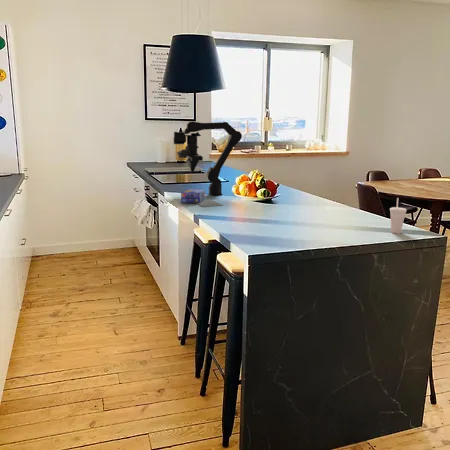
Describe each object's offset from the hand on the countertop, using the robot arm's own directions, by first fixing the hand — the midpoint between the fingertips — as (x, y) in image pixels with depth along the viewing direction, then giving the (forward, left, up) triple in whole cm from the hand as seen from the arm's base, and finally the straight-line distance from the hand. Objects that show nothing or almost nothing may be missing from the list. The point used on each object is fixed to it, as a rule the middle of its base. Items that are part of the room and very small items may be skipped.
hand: (192, 172), depth 267 cm
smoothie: (-49, +110, -13) cm, 121 cm away
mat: (+1, +27, -13) cm, 30 cm away
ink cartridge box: (+2, +14, -10) cm, 17 cm away
